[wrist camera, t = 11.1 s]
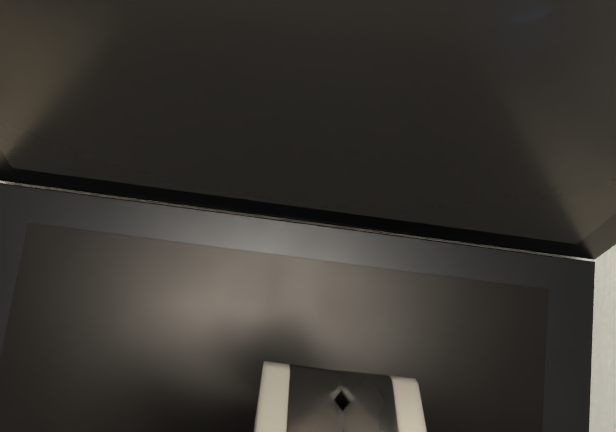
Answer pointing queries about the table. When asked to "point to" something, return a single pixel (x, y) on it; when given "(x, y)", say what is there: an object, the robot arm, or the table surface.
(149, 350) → the notebook
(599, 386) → the table surface
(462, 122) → the notebook screen
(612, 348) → the table surface
